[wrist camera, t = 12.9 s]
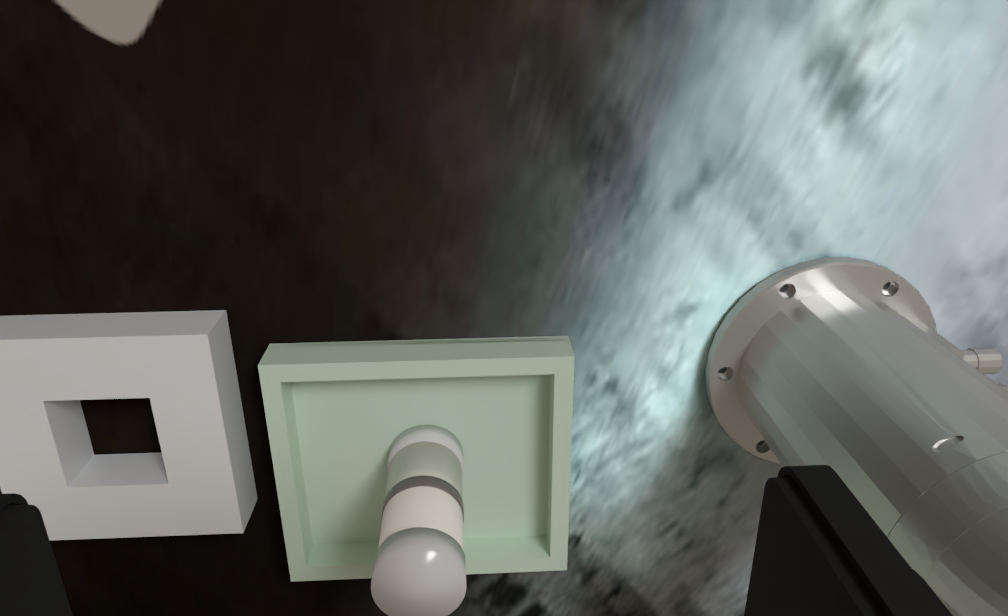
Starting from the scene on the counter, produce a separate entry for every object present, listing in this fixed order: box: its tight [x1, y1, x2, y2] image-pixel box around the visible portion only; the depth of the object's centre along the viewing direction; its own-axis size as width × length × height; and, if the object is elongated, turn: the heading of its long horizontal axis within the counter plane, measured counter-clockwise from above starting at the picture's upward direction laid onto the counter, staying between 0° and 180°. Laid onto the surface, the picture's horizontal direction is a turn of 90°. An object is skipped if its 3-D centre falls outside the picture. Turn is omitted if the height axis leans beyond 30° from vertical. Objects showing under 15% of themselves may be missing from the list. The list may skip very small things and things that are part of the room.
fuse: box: [371, 425, 466, 616], centre depth 37 cm, size 4×4×10 cm
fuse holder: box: [0, 310, 257, 541], centre depth 39 cm, size 12×12×3 cm
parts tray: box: [258, 336, 574, 582], centre depth 41 cm, size 16×14×2 cm
